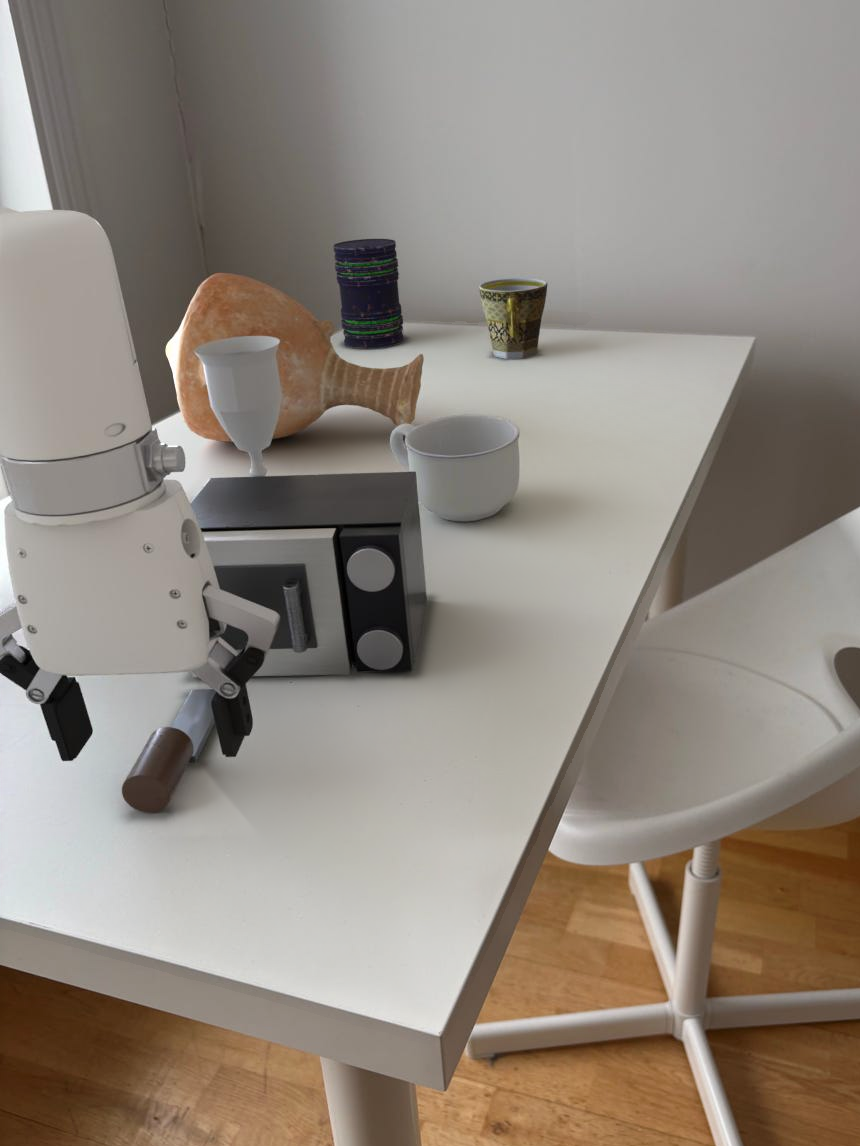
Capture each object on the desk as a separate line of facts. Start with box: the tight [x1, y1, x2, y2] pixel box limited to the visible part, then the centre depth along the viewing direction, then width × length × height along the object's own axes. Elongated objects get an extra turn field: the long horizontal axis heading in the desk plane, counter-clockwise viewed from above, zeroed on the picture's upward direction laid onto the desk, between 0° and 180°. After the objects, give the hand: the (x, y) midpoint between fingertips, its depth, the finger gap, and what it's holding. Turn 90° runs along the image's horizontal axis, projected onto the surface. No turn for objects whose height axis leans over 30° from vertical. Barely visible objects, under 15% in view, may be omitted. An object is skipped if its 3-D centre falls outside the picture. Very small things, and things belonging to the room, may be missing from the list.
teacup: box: [389, 413, 520, 522], centre depth 98 cm, size 14×11×8 cm
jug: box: [165, 272, 425, 443], centre depth 118 cm, size 20×19×30 cm
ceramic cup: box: [478, 277, 548, 360], centre depth 148 cm, size 13×10×10 cm
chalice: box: [194, 336, 282, 477], centre depth 90 cm, size 7×7×18 cm
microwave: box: [190, 471, 428, 673], centre depth 75 cm, size 12×16×11 cm
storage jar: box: [333, 238, 405, 350], centre depth 160 cm, size 10×10×15 cm
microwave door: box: [190, 528, 355, 678], centre depth 70 cm, size 3×12×11 cm, turn 87°
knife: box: [121, 688, 216, 814], centre depth 65 cm, size 13×3×3 cm, turn 177°
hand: (156, 745), depth 60 cm, fingers open, 9 cm apart
